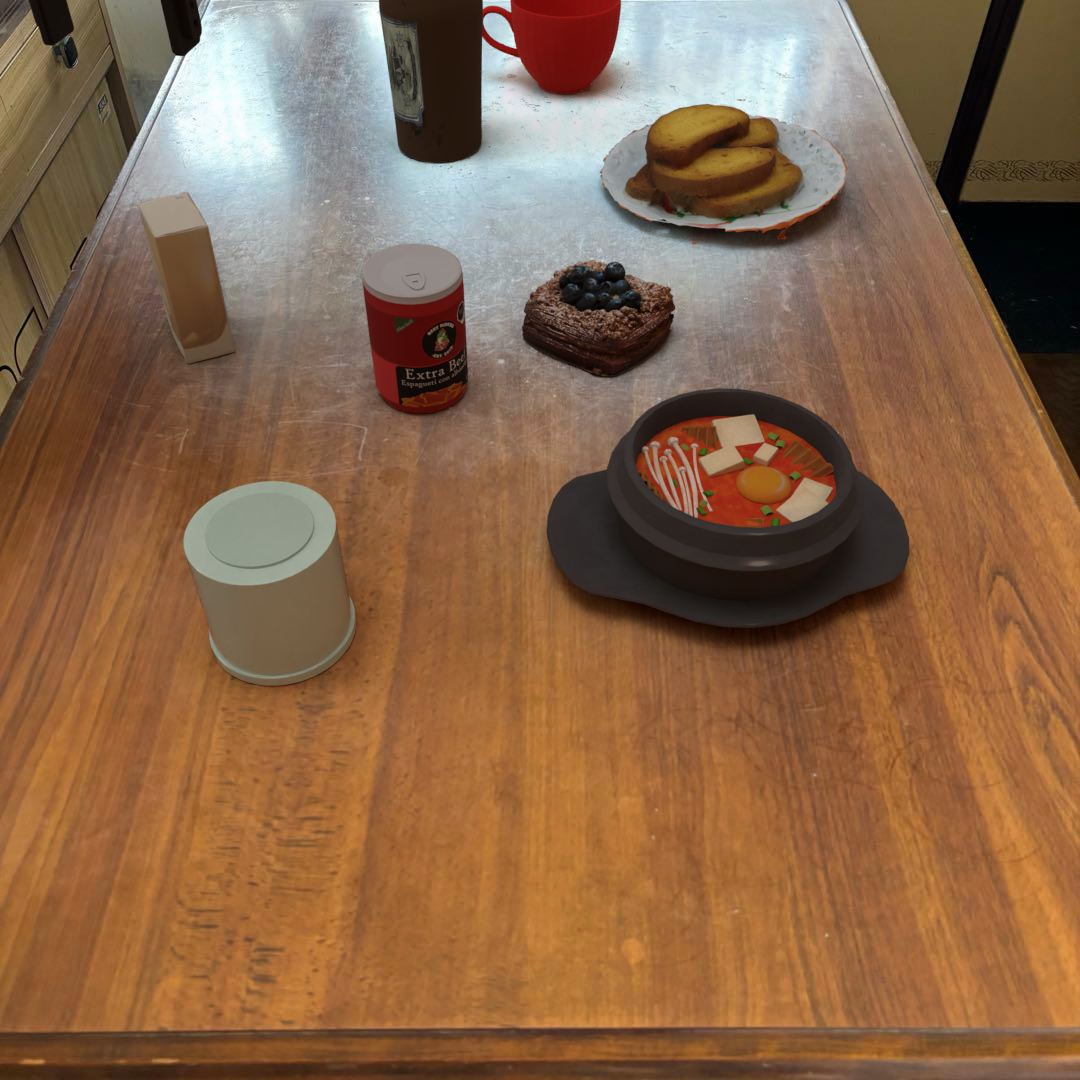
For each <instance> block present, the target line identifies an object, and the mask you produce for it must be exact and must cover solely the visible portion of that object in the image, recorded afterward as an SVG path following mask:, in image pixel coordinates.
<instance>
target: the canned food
mask: <svg viewBox="0 0 1080 1080" xmlns="http://www.w3.org/2000/svg"><path fill="white" fill-rule="evenodd" d="M361 274H362V277H361V279H362V288H363V289H362V291H363V297H364V307H365V315H366V321H367V329H368V336H369V343H370V345H369V346H370V352H371V358H372V359H371V361H372V367H373V375H374V381H375V386H376V389H377V390H378V393H379V394H380V396H381V398H382V399H383V400H384V401H385V403H387V404H388V405H389V406H391V407H392V408H394V409H397V410H398V411H403V412H405V413H410V414H411V413H412V414H427V413H428V414H429V413H435V412H438V411H442V410H444V409H447V408H449V407H451V406H452V405H454V404H456V403H457V402H458V401H459V400H460V399H461V398H462V396H463V395H464V394H465V390H466V388H467V384H468V381H469V367H468V345H467V344H468V343H467V325H466V306H465V303H466V302H465V286H464V284H465V283H464V272H463V268H462V263H461V261H460V259H459V258H458V257H457V256H456V255H455V254H454V253H453V252H451V251H449V250H447V249H445V248H443V247H441V246H440V247H439V246H438V245H433V244H427V243H402V244H397V245H392V246H388V247H386V248H383V249H381V250H378V251H377V252H375V253H373V254H372V255H370V256H369V258H368V259H367V260H366V261H365V262H364V264H363V266H362V271H361Z"/></svg>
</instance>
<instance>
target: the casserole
mask: <svg viewBox="0 0 1080 1080" xmlns="http://www.w3.org/2000/svg"><path fill="white" fill-rule="evenodd" d="M546 519H547V521H546V539H547V541H548V545H549V550H550V554H551V556H552V557H553V559H554V561H555V563H556V565H557V567H558V569H559V570H560V571H561V573H562V574H563V575H564V576H565V577H566V578H567V580H569V581H570V583H571V584H573V585H574V586H576V587H578V588H580V589H581V590H583V591H585V592H586V593H588V594H589V595H596V596H600V597H601V596H602V597H605V598H611V599H616V600H620V601H626V602H632V603H636V604H641V605H645V606H648V607H650V608H653V609H657V610H659V611H663V612H665V613H668V614H670V615H674V616H677V617H679V618H683V619H685V620H689V621H691V622H694V623H700V624H704V625H705V624H706V625H709V626H710V625H711V626H716V627H723V628H741V629H742V628H743V629H745V628H746V629H756V628H763V627H772V626H780V625H784V624H787V623H790V622H794V621H797V620H801V619H805V618H808V616H811V615H813V614H814V613H817V612H818V611H821V610H822V609H824V608H826V607H828V606H830V605H832V604H834V603H836V602H837V601H839V600H841V599H843V598H845V597H848V596H850V595H853V594H857V593H861V592H863V591H864V592H865V591H868V590H871V589H874V588H877V587H879V586H882V585H885V584H888V583H891V582H893V581H895V580H896V578H897V577H899V576H900V575H901V574H902V573H903V572H904V571H905V569H906V566H907V563H908V561H909V557H910V536H909V534H908V530H907V526H906V523H905V519H904V517H903V516H902V514H901V512H900V510H899V509H898V507H897V505H896V504H895V502H894V501H893V500H892V498H890V496H889V495H888V494H887V493H886V491H885V490H883V488H882V487H881V486H879V485H878V483H876V482H874V481H873V480H872V479H871V478H870V477H868V476H867V475H866V474H864V473H863V472H862V471H859V470H858V469H857V467H856V465H855V464H854V461H853V457H852V452H851V451H850V449H849V447H848V445H847V444H846V442H845V440H844V438H843V437H842V436H841V435H840V434H839V433H838V431H837V430H835V428H834V427H833V426H832V425H831V424H830V423H828V421H826V420H824V419H823V418H822V417H821V416H820V415H818V414H817V413H815V412H813V411H811V410H810V409H808V408H806V407H805V406H803V405H801V404H799V403H796V402H793V401H791V400H788V399H786V398H784V397H781V396H777V395H773V394H771V393H770V394H769V393H767V392H762V391H757V390H749V389H743V388H742V389H741V388H721V387H720V388H719V387H717V388H709V389H698V390H694V391H689V392H685V393H680V394H677V395H675V396H672V397H670V398H666V399H665V400H662V401H659V402H658V403H657V404H655V405H654V406H652V407H650V408H649V409H647V410H646V411H644V412H643V413H642V414H641V415H640V416H639V417H638V418H637V419H635V421H634V423H633V425H632V426H631V428H630V429H629V430H628V431H627V432H626V433H625V434H624V435H623V436H622V437H621V438H620V439H619V441H618V443H617V444H616V445H615V447H614V448H613V450H612V452H611V454H610V457H609V461H608V464H607V467H606V469H602V470H598V471H594V472H590V473H586V474H582V475H578V476H576V477H574V478H572V479H571V480H569V481H567V482H566V483H565V484H563V485H562V486H561V488H559V490H558V491H557V493H556V494H555V496H554V497H553V498H552V502H551V504H550V507H549V510H548V513H547V518H546Z"/></svg>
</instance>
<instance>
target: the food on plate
mask: <svg viewBox="0 0 1080 1080" xmlns="http://www.w3.org/2000/svg"><path fill="white" fill-rule="evenodd" d="M602 162H604V163H603V164H604V165H603V166H602V168H601V169H600V171H599V174H600V179H601V181H602V184H601V186H602V187H603V188H606V189H607V191H608V192H609V194H610V196H611V197H612V198H613V201H615V202H617V203H618V207H620V208H622V209H624V210H627V211H629V213H631V214H634V215H635V216H637V217H639V218H641V219H645V220H646V221H649V222H655V221H656V222H661V223H667V224H674V225H676V226H689V227H696V228H703V229H725V230H724V232H736V233H741V232H742V233H743V232H746V231H751V232H752V231H755V232H756V233H757V232H759V231H761V233H762V234H765V233H766V232H767V231H771V230H781V231H780V233H779V234H778V235H776V236H775V238H777V239H778V240H787V239H786V231H787V230H788V228H790V227H792V226H793V225H794V224H796V223H797V222H802V221H803V220H805V219H806V218H807V217H809V216H811V215H815V214H816V213H818V212H820V211H821V210H822V209H823V207H824V206H827V205H829V204H830V201H831V200H835V199H836V198H837V196H838V194H841V193H842V189H844V185H845V184H846V176H847V171H849V170H848V166H847V165H846V161H845V158H844V156H842V155H841V152H840V151H839V150H838V149H837V148H836V147H835V146H834V145H833V144H832V142H831V141H830V140H828V139H824V138H823V137H822V136H821V135H820V134H819V133H818V132H817V131H816V130H815V129H807V128H805V127H803V126H801V125H799V124H796V123H790V124H788V123H786V122H785V121H782V120H781V121H780V120H779V119H778V118H774V117H769V116H763V115H757V114H756V115H752V114H749V113H747V112H745V111H743V109H740V108H737V107H734V106H729V105H718V104H717V105H716V104H710V103H703V104H701V103H700V104H694V105H689V106H683V107H678V108H676V109H673V110H671V111H669V112H667V113H664V114H662V115H660V116H659V117H658V118H657V119H656V120H655V121H654V122H653V123H652V124H645V126H644V127H643V128H642V127H641V128H640V129H634V130H632V132H631V133H629V134H627V135H626V136H625V137H623V138H622V139H621V140H620V141H619V142H617V143H616V144H614V146H613V147H612V148H611V149H610V150H609V151H608V154H606V155H605V157H604V158H603V159H602ZM664 220H665V221H664ZM782 229H783V230H782ZM697 244H698V243H697V242H696V241H693V242H691V245H697Z"/></svg>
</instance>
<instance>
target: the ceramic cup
mask: <svg viewBox="0 0 1080 1080" xmlns="http://www.w3.org/2000/svg"><path fill="white" fill-rule="evenodd" d="M509 3H510V11H509V10H508V9H506V8H504V7H502V6H498V5H488V6H485V7H483V20H484V19H485V17H486V16H487V15H489V14H497V15H500V16H502V17H503V18H504V20H506V21H507V23H508V25H509V27H510V29H511V32H512V33H513V39H514V44H515V47H511V46H509V45H506V44H504V43H502V42H499V41H498V40H496V39H495V38H493V37H492V36H491V35H490V34H489V32H488V31H487V29H486V28H485V25H484V23H483V26H482V39H483V40H484V41H485V42H486V43H487V44H488V45H489V46H490V47H492V48H493V49H495V50H497V51H499V52H502V53H504V54H506V55H509V56H512V57H515V58H519V59H520V62H521V63H522V65H523V67H524V69H525V70H526V72H527V73H528V74H529V76H530V77H531V78H532V80H534V82H536V84H537V85H538V87H539V88H540V89H542V90H543V91H546V92H548V93H552V94H557V95H558V94H559V95H572V94H578V93H581V92H584V91H586V90H588V89H589V88H590V87H591V86H592V84H593V83H594V82H595V81H596V80H597V79H598V78H599V76H600V75H601V74H602V73H603V72H604V70H605V69H606V67H607V66H608V64H609V62H610V60H611V58H612V55H613V52H614V49H615V46H616V42H617V39H618V32H619V28H620V27H619V26H620V20H621V19H620V17H621V11H622V0H510V2H509Z"/></svg>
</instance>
